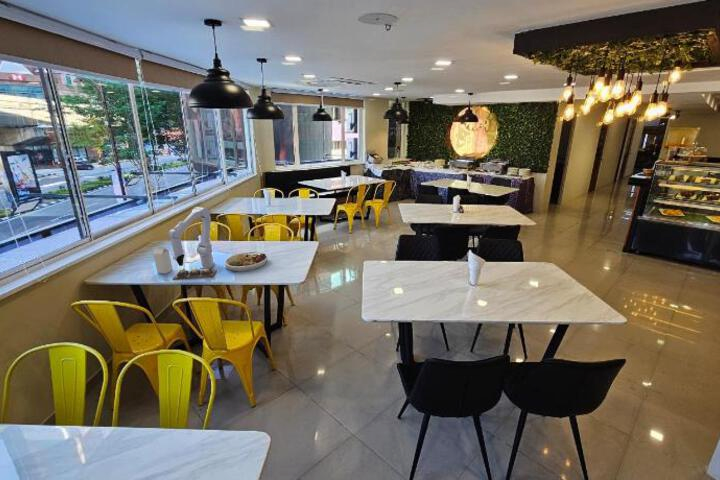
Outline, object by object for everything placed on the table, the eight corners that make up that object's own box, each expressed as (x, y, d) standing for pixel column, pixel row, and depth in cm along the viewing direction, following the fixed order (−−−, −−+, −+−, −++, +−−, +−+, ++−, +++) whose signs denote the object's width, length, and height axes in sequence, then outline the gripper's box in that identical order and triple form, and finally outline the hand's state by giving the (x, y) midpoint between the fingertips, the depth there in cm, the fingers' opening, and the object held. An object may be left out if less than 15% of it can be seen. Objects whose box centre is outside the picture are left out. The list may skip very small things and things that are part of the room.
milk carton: (166, 273, 250) (160, 248, 244) (157, 273, 252) (151, 248, 246) (173, 269, 257) (167, 245, 251) (164, 269, 258) (159, 244, 252)
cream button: (192, 271, 246) (192, 267, 245) (198, 270, 246) (197, 267, 245) (191, 273, 242) (190, 269, 241) (196, 272, 242) (195, 269, 242)
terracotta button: (205, 272, 247) (204, 268, 246) (210, 271, 247) (209, 268, 246) (203, 274, 243) (202, 270, 242) (208, 273, 244) (208, 270, 243)
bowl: (223, 275, 244) (221, 265, 242) (227, 260, 272) (225, 251, 269) (268, 270, 252) (266, 259, 249) (267, 255, 279) (266, 246, 277)
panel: (179, 273, 250) (178, 269, 249) (217, 270, 252) (216, 266, 251) (173, 279, 240) (172, 275, 239) (212, 277, 242) (211, 272, 241)
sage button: (180, 271, 245) (180, 268, 244) (186, 271, 245) (185, 268, 244) (178, 273, 241) (178, 270, 241) (184, 273, 242) (183, 270, 241)
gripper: (175, 243, 244) (179, 261, 248) (166, 250, 230) (170, 269, 234) (185, 243, 245) (189, 261, 249) (177, 250, 231) (181, 269, 235)
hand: (181, 265), depth 242 cm, fingers closed
